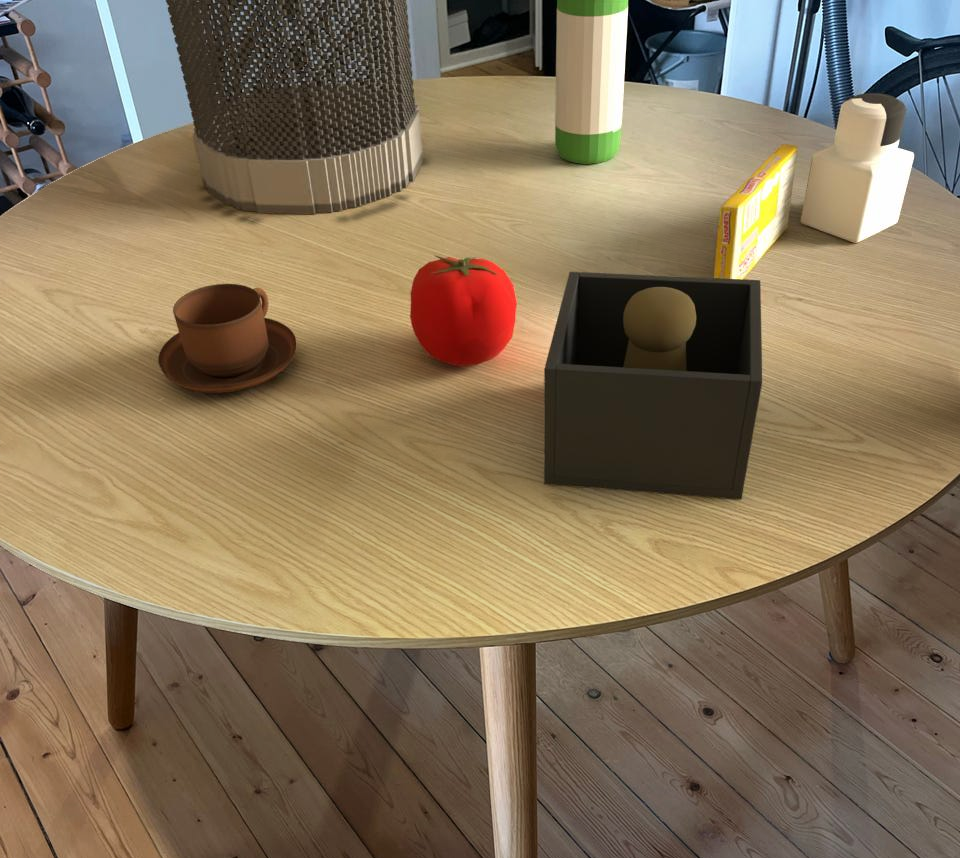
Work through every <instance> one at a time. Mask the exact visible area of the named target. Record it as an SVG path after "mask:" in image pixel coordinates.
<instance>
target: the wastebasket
mask: <svg viewBox="0 0 960 858" xmlns="http://www.w3.org/2000/svg"><path fill="white" fill-rule="evenodd" d="M353 1H354V2H352V0H323V2H322V0H250V3H249V0H165V3H166V5H167V12H168V14H169V16H170V17H169V21H170V24H171V30H172V33H173V36H174V43H175V44H176V45H177V46H176V51H177V55H178V61H179V63H180V65H181V66H180V69H181V72H182V79H183V81H184V87H185V91H186V96H187V100H188V101H189V103H188V105H189V108H190V111H191V112H190V114H191V118H192V120H193V121H192V123H193V126H194V128H193V133H192V134H191V136H192V142H193V145H194V149H195V154H196V158H197V163H198V167H199V172H200V176H201V180H202V184H203V187H204V189H206V190H207V192H208V194H210V195H211V196H213V198H215V199H218V200H219V201H221V203H223V204H226V206H232V207H233V208H235V209H236V210H242V212H257V214H282V215H283V214H288V215H290V214H291V215H292V214H293V215H315V214H316V213H326V214H327V213H329V214H331V213H333V212H342V211H343V210H347V209H356V208H357V207H361V206H362V205H363V206H364V205H366V204H370V203H372V202H376V201H377V200H378V201H379V200H381V199H385V198H386V197H391V196H392V194H397V192H402V190H403V189H407V188H408V185H409V183H413V182H415V178H416V176H417V175H418V172H419V170H420V168H421V166H422V164H423V161H424V153H423V141H422V128H421V126H422V125H421V113H420V109H419V108H420V107H419V104H417V102H416V100H415V96H414V95H415V89H414V79H413V76H414V75H413V70H412V69H413V68H412V67H413V63H412V62H413V61H412V52H411V42H410V38H411V36H410V33H409V29H410V25H409V14H408V4H407V0H353ZM342 4H343V5H342ZM357 5H358V7H357ZM255 6H256V7H255ZM245 7H246V9H245ZM308 9H309V11H308ZM346 9H347V10H346ZM353 11H354V12H353ZM242 13H243V14H242ZM343 14H344V15H343ZM358 15H359V16H358ZM247 17H248V18H247ZM238 18H239V19H238ZM332 18H333V19H332ZM347 18H348V19H347ZM243 22H244V24H243ZM337 22H338V23H337ZM234 24H236V25H234ZM290 24H291V25H290ZM334 27H335V28H334ZM240 28H241V29H240ZM287 28H288V30H287ZM338 31H339V33H338ZM236 33H237V35H236ZM291 33H292V34H291ZM297 37H298V38H297ZM324 40H325V41H324ZM293 42H294V43H293ZM328 44H329V45H328ZM358 54H359V55H358ZM348 57H349V58H348ZM311 58H312V59H311ZM255 60H256V61H255ZM315 62H316V63H315ZM359 63H360V64H359ZM349 66H350V67H349ZM339 70H340V71H339ZM340 78H341V80H340ZM249 80H250V81H249ZM295 80H296V81H295ZM246 85H247V86H246Z"/></svg>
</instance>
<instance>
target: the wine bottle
mask: <svg viewBox="0 0 960 858" xmlns="http://www.w3.org/2000/svg"><path fill="white" fill-rule="evenodd" d="M556 2H557V3H556V4H557V5H556V40H555V41H556V42H555V44H556V47H555V48H556V49H555V51H556V52H555V109H554V111H555V112H554V114H555V115H554V123H555V125H554V126H555V127H554V128H555V129H554V130H555V131H554V133H555V135H554V137H555V138H554V145H555V150H556V152H557V154H558V156H559V157H560V158H561V159H563V160H565V161H567V162H570V163H574V164H581V165H589V164H590V165H592V164H593V163H594V164H599V163H604V162H606V161H607V162H608V161H609V160H611V159H612V158H614V157H615V156H616V155H617V154H618V153H619V151H620V147H621V140H622V139H621V137H622V123H623V108H624V106H623V105H624V90H625V89H624V88H625V70H626V51H627V36H628V35H627V34H628V14H629V0H556Z"/></svg>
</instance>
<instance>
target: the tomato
mask: <svg viewBox="0 0 960 858" xmlns="http://www.w3.org/2000/svg"><path fill="white" fill-rule="evenodd" d="M434 257H436V258H438V259H435V260H432V261H428V262H427V263H425V264H424V265H423V266H421V267H420V268H419V269H418V270H417V273H416V274H415V276H414V278H413V281H412V284H411V289H410V309H409V310H410V311H409V312H410V313H409V318H410V323H411V327H412V331H413V333H414V336H415V337H416V339H417V341H418V343H419V345H420V347H421V348H422V349H423V350H424V351H425V352H426V353H427V354H428V355H429V356H430V357H432V358H433V359H435V360H437V361H439V362H441V363H446V364H449V365H454V366H456V367H463V366H478V365H479V364H483V363H485V362H487V361H490V360H493V359H494V358H496V357H497V356H498V355H499V354H500V353H502V352H503V351H504V350H505V348H507V345H508V344H509V343H510V342H511V341H512V339H513V335H514V330H515V325H516V314H517V308H518V303H517V297H516V296H517V295H516V292H515V291H516V290H515V286H514V283H513V282H512V280H511V279H510V277H509V276H508V274H507V273H506V271H505V270H504V269H503V268H502V267H500V266H499V265H497V264H496V263H495V262H494V261H491V260H488V259H485V258H477V256H476V257H465V258H464V259H463V258H462V259H458V258H455V257H454V258H453V257H451V256H448V257H443V256H442V257H441V256H438V255H434Z"/></svg>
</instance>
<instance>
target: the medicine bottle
mask: <svg viewBox="0 0 960 858" xmlns="http://www.w3.org/2000/svg"><path fill="white" fill-rule="evenodd" d="M906 114H907V107H906V105H905V103H904V102H903V101H902V100H900V99H898V97H897V98H896V97H895V96H892V95H889V94H886V93H885V94H884V93H878V92H873V93H872V92H868V93H867V92H866V93H860V94H856V95H854V96H851V97H848V98H847V99H846V100H845V101H843V102H842V103H841V106H840V110H839V114H838V120H837V125H836V130H835V135H834V140H833V143H834V144H832V145H830V146H828V147H826V148H823V149H821V150H819V151H817V152H814V153H813V155H812V157H811V163H810V168H809V172H808V177H807V185H806V190H805V196H804V201H803V206H802V210H801V216H800V223H801V224H802V225H804V226H807V227H810V228H812V229H815V230H817V231H821V232H823V233H826V234H829V235H832V236H833V237H837V238H839V239H842V240H845V241H847V242H850V243H852V244H858V243H860V242H862V241H865V240H866V239H869V238H871V237H872V236H874V235H876V234H878V233H880V232H883V231H884V230H886V229H888V228H891V227H892V226H894V225H896V224H898V222H899V218H900V214H901V210H902V206H903V203H904V198H905V195H906V190H907V186H908V182H909V178H910V175H911V170H912V167H913V163H914V159H915V154H914V152H913V151H910V150H907V149H903V148H900V147H899V143H900V139H901V134H902V131H903V126H904V122H905V119H906Z"/></svg>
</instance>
